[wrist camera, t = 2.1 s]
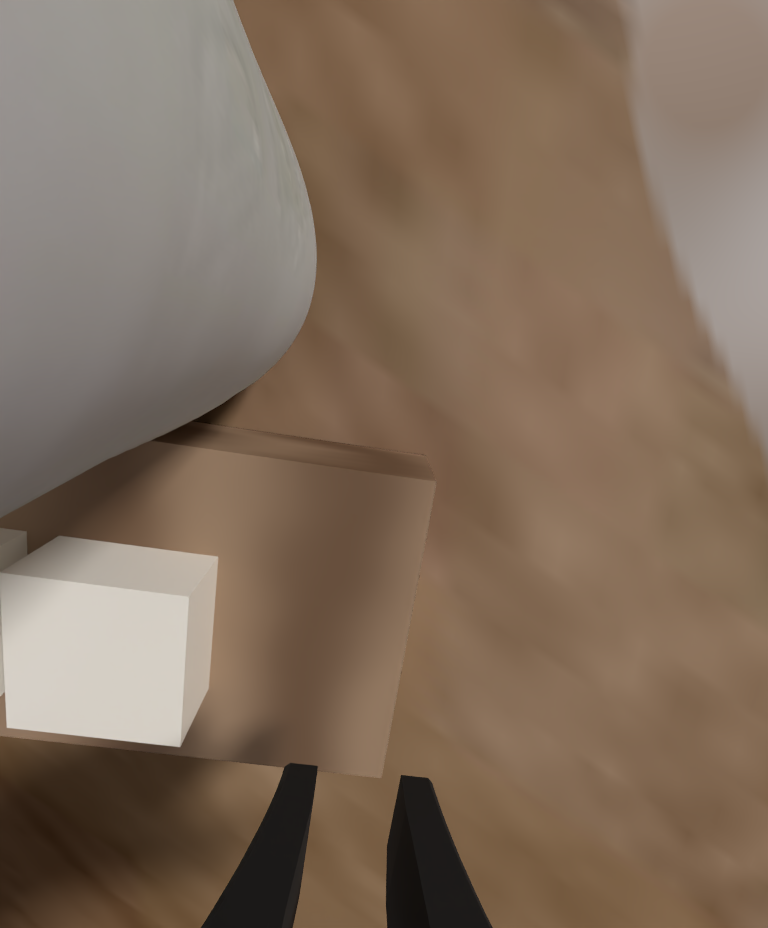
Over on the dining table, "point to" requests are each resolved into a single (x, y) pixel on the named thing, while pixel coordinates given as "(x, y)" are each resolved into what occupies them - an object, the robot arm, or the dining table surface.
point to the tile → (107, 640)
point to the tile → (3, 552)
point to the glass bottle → (136, 229)
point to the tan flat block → (269, 582)
